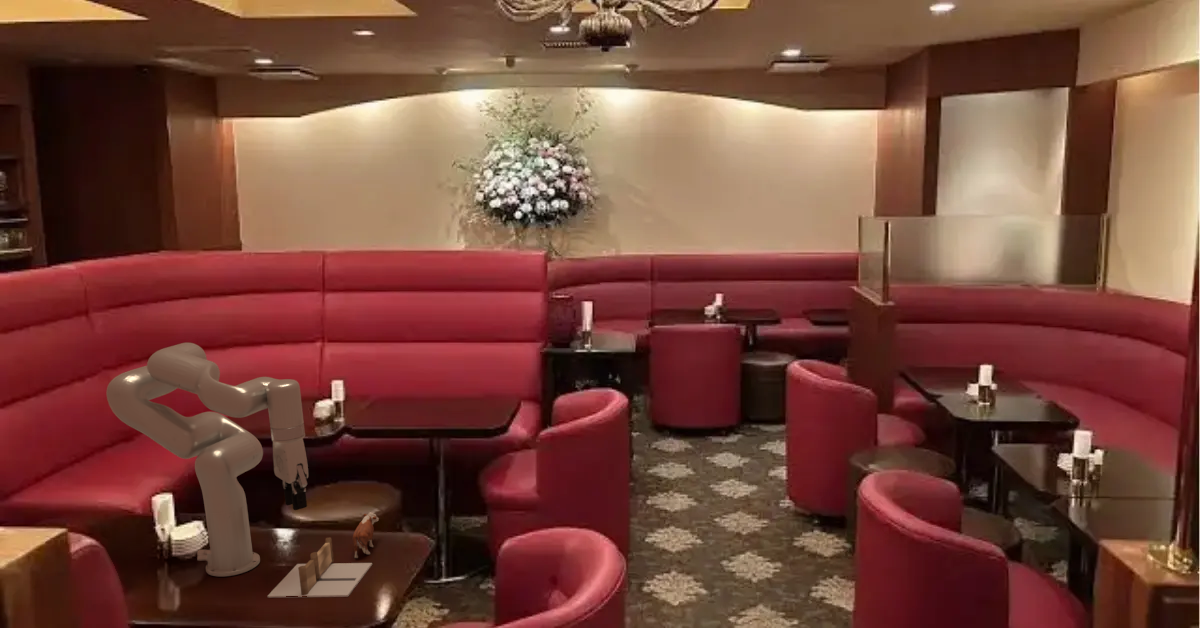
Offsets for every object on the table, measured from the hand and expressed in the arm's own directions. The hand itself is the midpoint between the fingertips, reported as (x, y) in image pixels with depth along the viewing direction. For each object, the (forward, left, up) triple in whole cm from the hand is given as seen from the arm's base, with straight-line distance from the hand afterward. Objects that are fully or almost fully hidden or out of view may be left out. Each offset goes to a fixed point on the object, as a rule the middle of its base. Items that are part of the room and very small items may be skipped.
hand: (296, 505), depth 226 cm
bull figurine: (+11, +13, -18) cm, 25 cm away
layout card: (+6, -4, -17) cm, 19 cm away
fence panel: (+5, 0, -16) cm, 17 cm away
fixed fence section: (+5, -9, -17) cm, 20 cm away
